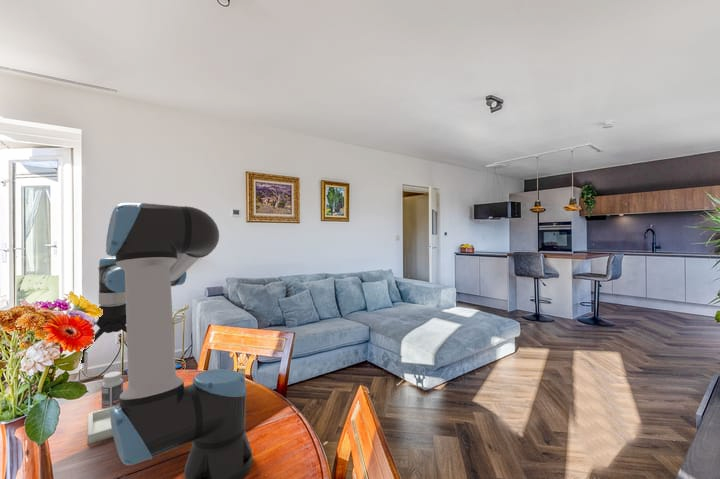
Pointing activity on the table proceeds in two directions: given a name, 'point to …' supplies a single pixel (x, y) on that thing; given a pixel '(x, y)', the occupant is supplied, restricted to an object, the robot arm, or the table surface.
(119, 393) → the pill bottle
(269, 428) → the table surface
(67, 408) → the table surface
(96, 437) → the tray
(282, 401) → the table surface
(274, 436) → the table surface
